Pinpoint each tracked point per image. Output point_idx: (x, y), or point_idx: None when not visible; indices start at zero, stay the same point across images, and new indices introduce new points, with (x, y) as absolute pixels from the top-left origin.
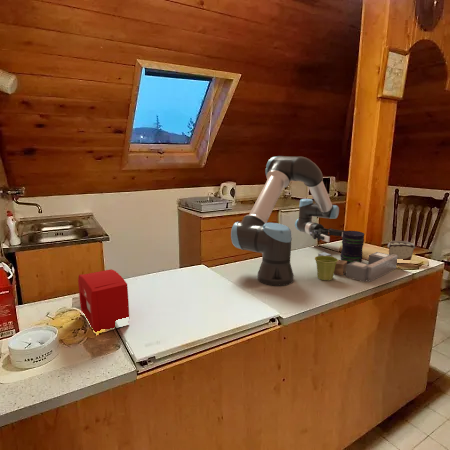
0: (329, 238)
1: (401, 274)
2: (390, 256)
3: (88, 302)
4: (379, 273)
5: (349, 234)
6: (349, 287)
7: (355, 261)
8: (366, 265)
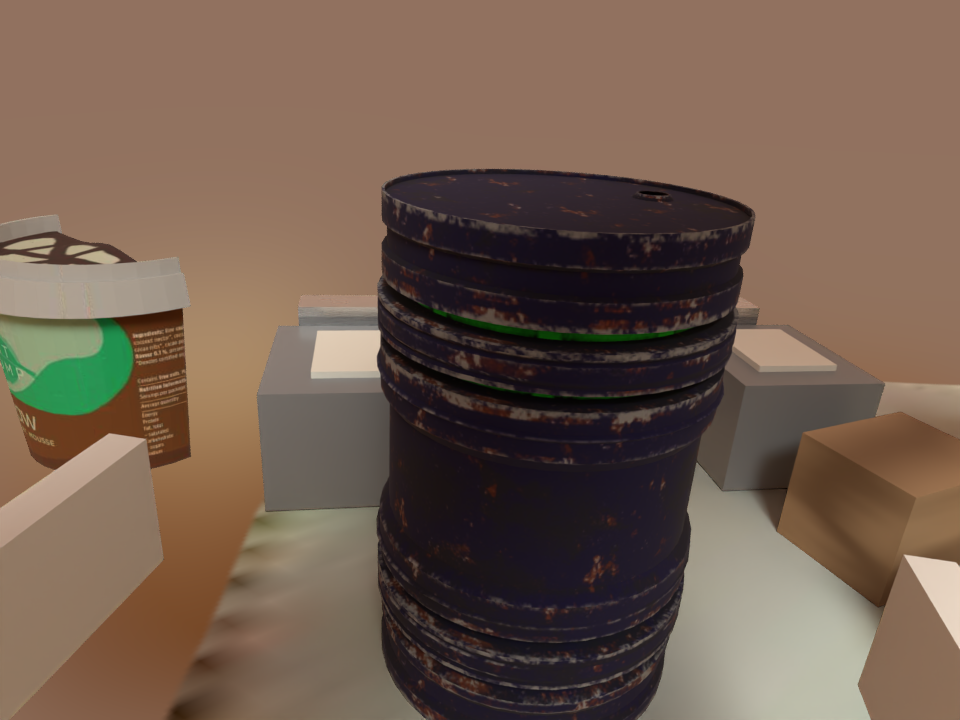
0: (907, 592)
1: None
2: None
3: None
4: None
5: (690, 203)
6: (920, 413)
7: (748, 381)
8: None
